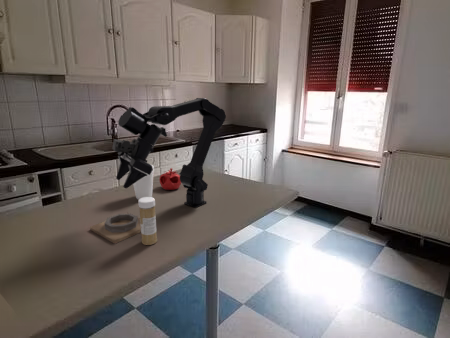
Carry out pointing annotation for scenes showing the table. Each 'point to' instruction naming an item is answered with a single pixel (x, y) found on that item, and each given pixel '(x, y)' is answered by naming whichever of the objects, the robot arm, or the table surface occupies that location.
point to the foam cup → (144, 186)
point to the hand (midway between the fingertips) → (120, 183)
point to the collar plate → (115, 235)
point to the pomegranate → (170, 180)
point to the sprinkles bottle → (148, 220)
